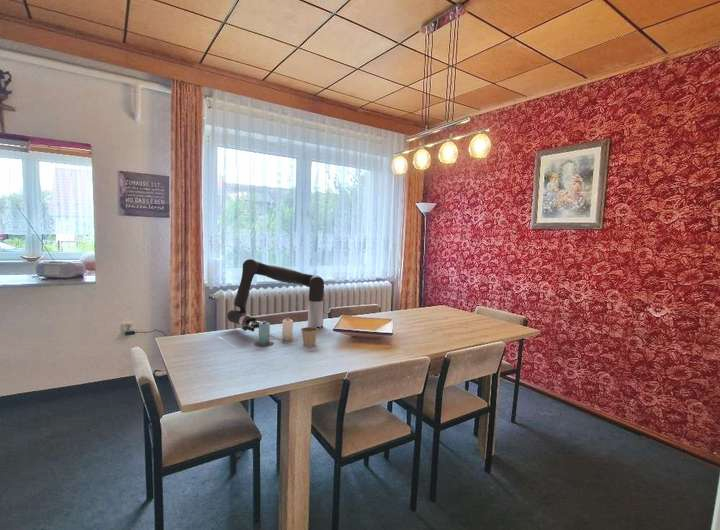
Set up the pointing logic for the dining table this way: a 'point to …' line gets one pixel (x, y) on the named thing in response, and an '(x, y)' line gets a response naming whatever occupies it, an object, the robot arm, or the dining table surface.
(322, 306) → the robot arm
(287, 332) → the peach pillar candle
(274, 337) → the tile
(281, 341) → the tile
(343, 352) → the dining table surface
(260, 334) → the jar teal
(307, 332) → the flower pot
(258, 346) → the mat
